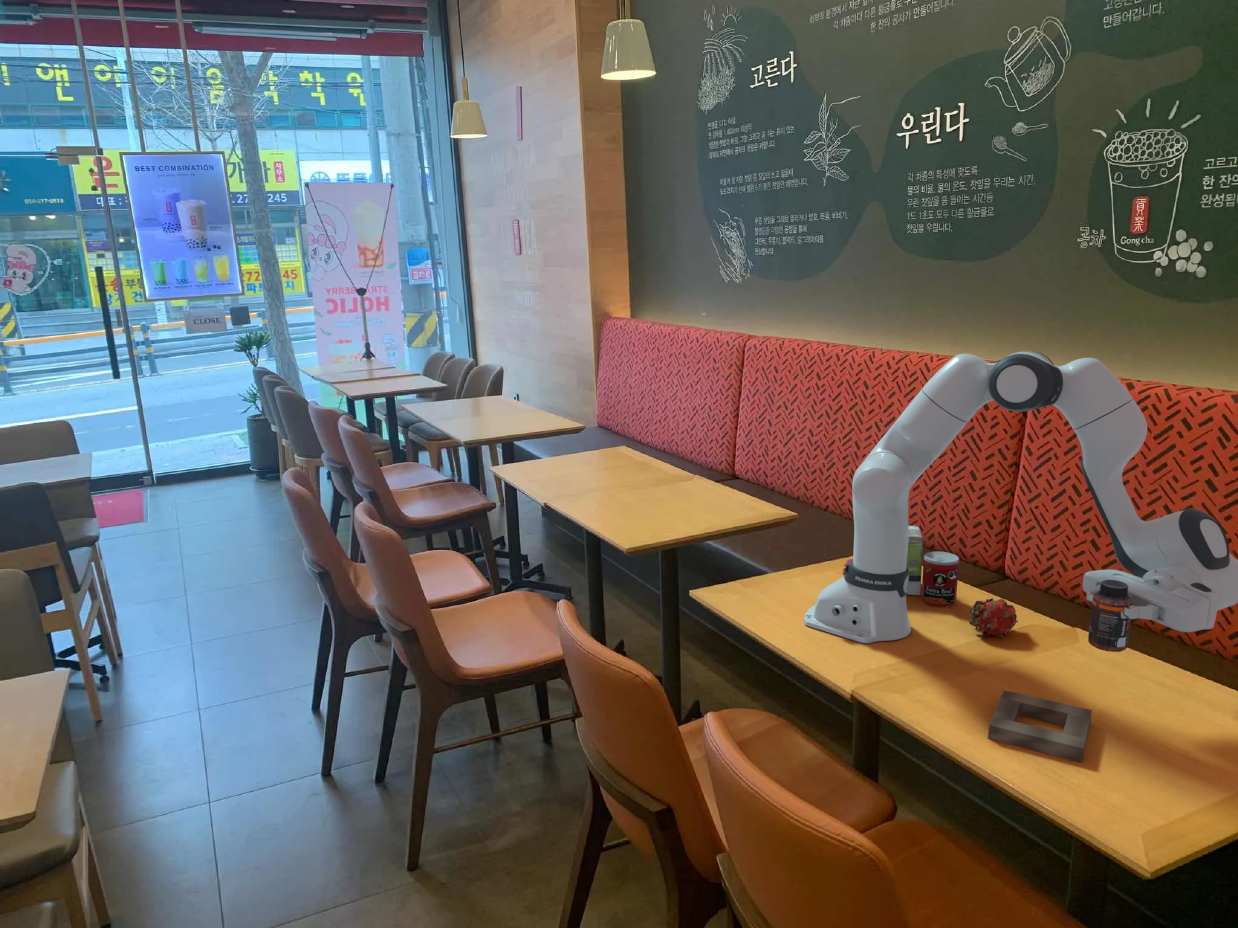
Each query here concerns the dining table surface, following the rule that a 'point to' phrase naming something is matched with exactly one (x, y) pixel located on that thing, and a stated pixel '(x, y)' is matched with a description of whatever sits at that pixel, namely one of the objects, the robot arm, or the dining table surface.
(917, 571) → the tea box
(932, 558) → the canned food
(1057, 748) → the walnut socket block
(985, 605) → the dragon fruit
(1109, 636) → the supplement bottle
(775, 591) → the dining table surface
